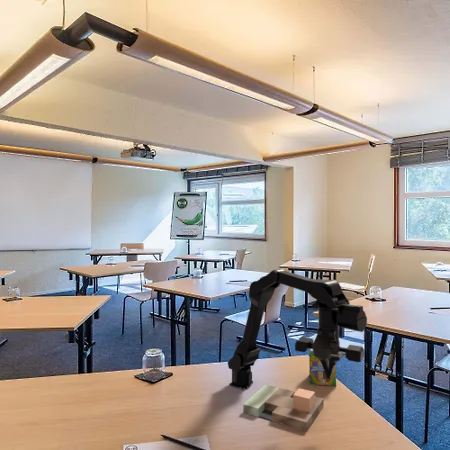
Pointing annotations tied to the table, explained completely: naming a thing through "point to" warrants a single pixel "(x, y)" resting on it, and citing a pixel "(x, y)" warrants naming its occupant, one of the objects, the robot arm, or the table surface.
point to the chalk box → (319, 372)
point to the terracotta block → (304, 400)
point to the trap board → (281, 407)
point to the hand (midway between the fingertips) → (328, 378)
